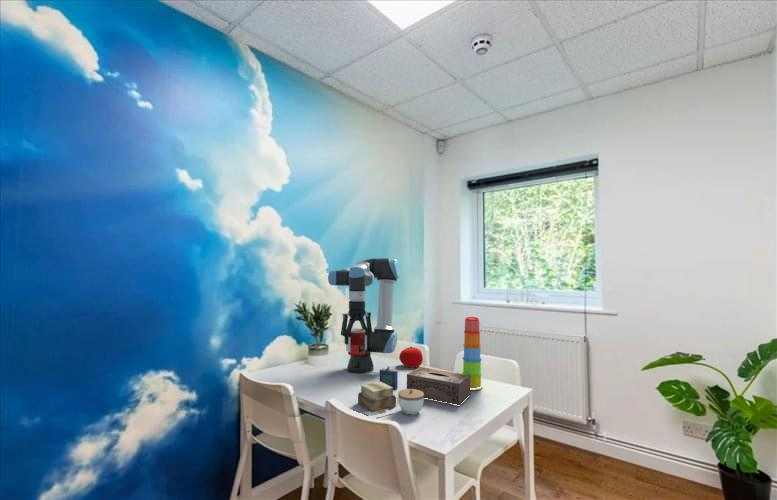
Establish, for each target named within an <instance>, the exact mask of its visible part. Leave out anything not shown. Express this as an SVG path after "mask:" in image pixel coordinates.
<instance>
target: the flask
mask: <svg viewBox="0 0 777 500" xmlns="http://www.w3.org/2000/svg"><path fill="white" fill-rule="evenodd" d="M390 368H391V366H386V368H385V367H382V368H379V381H381V382H383V383H385V384H387V385H389V386H391V387H393V391H395V390H398V388H399V387H398V385H399V384H398V382H399V380H398V372H399V371H398V370H397V369H390Z"/></svg>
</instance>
